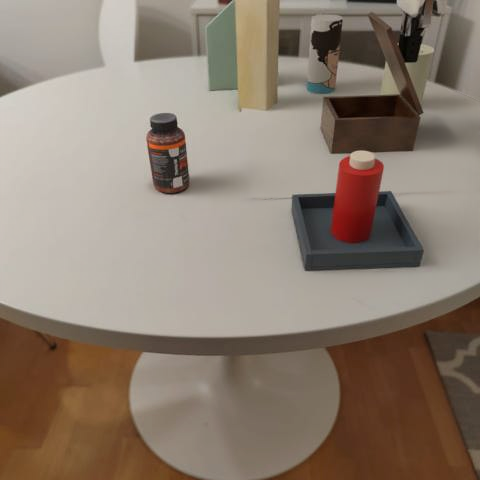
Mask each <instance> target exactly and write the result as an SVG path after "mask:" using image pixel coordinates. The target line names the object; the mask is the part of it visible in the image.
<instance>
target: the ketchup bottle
mask: <svg viewBox="0 0 480 480" xmlns="http://www.w3.org/2000/svg"><path fill="white" fill-rule="evenodd" d="M376 157H377V156H376V154H374V152H368V151H355V152H352V153H350V155H348V156H346V157H343V158H341V160H340V161H339V162H338V163H339V164H338V171H337V179H336V185H335V192H334V193H335V201H334V208H333V216H332V224H331V233H332V235H333V236H334V237H335V238H336V239H338V240H340V241H343V242H347V243H360V242H363V241H365V240H367V239H368V238H369V237H370V235H371V230H372V225H373V220H374V215H375V210H376V205H377V200H378V195H379V192H380V189H381V184H382V179H383V174H384V171H385V170H384V169H385V166H384V164H383V162H382V161H381V160H380V159H378V158H376Z"/></svg>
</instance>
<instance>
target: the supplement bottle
mask: <svg viewBox="0 0 480 480" xmlns="http://www.w3.org/2000/svg"><path fill="white" fill-rule="evenodd" d="M178 125H179V124H178V118H177V115H175V114H174V113H171V112H161V113H156V114H153V115H151V116H150V117H149V126H150V128H151V129H149V130H148V131H147V133H146V135H145V136H146V137H145V140H146V147H147V153H148V154H147V155H148V159H149V165H150V172H151V178H152V183H153V188H154V189H155V190H156V191H158V192H161V193H165V194H174V193H179V192H181V191H182V192H183V190H185V189H186V188H188V187H189V185H190V172H189V162H188V152H187V151H188V150H187V143H186V134H185V132H184V130H183V129H182V128H180V127H179V126H178Z"/></svg>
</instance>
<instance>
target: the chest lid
mask: <svg viewBox="0 0 480 480" xmlns="http://www.w3.org/2000/svg"><path fill="white" fill-rule="evenodd" d="M367 17H368V19H369V21H370V24H371V26H372V29H373V31H374V34H375V36H376V39H377V41H378V44H379V46H380V49H381V51H382V54H383V56H384V59H385V62H386V61H387V64H388V66H389V69H390V71H391V74H392V76H393V79H394V81H395V84H396V86H397V88H398V91H399V93H400V94H401V95H402V96H403V98H404V99H405V100H406V101H407V102H408V103H409V104H410V106H411V107H412V108H413V109H414V110H415V111H416V112H417V114H418V115H419V116H421V115H423V114H424V113H425V112H424V110H423V107H422V104H420V102H419V99H418V97H417V94H416V91H415V89H414V86H413V83H412V81H411V78H410V75H409V73H408V70H407V68H406V65H405V62H404V60H403V57H402V54H401V52H400V49H399V46H398V41H397V39H396V36H395V33H394V30H393V29H392V26H390V25H389V24H388V23H387V22H385V21H384V20H383V19H381V17H379V16H378V15H377V14H376V13H374V11H371V12H369V13H368V14H367Z"/></svg>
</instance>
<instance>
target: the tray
mask: <svg viewBox="0 0 480 480" xmlns="http://www.w3.org/2000/svg"><path fill="white" fill-rule="evenodd" d="M335 193H336V192H328V193H326V192H324V193H298V194H291V195H292V196H291V213H292V219H293V224H294V227H295V233H296V237H297V242H298V245H299V251H300V255H301V260H302V265H303V268H304V271H329V270H331V271H333V270H356V269H357V270H358V269H359V270H361V269H380V268H381V269H383V268H384V269H385V268H410V267H413V268H414V267H420V265H421V262H422V259H423V256H424V252H425V249H424V247H423V245H422V243H421V242H420V240H419V238H418V236H417V235H416V233H415V231H414V229H413V227H412V226H411V224H410V222H409V221H408V219H407V217H406V214H405V213H404V211H403V210H402V208H401V206H400V204H399V202H398V200H397V199H396V197H395V196H394V194H393V192H392V190H386V191H385V190H382V191H380V190H379V195H378V200H377V205H376V210H375V215H374V220H373V225H372V230H371V235H370V237H369V238H368V239H367V240H365V241H363V242H360V243H347V242H343V241H340V240H338V239H336V238H335V237H334V236H333V235H332V233H331V224H332V216H333V208H334V201H335Z"/></svg>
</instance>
